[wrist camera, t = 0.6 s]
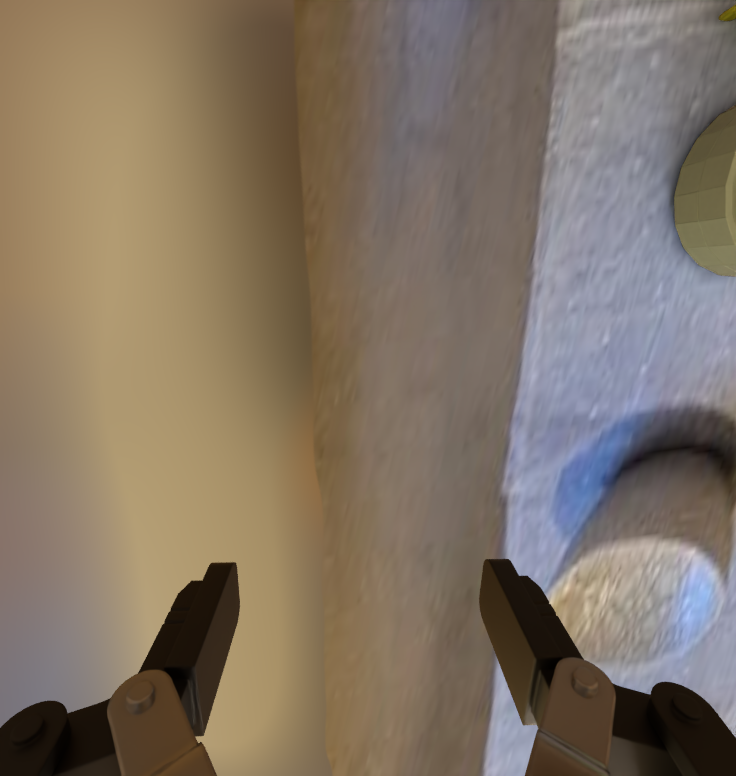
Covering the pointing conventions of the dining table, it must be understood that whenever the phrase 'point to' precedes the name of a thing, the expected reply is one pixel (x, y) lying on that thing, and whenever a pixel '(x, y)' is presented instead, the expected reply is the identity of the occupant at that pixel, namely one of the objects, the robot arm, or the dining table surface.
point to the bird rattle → (728, 14)
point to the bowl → (710, 197)
